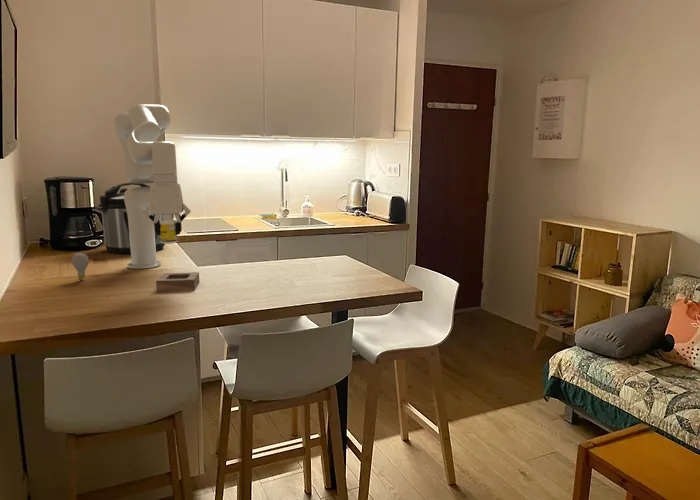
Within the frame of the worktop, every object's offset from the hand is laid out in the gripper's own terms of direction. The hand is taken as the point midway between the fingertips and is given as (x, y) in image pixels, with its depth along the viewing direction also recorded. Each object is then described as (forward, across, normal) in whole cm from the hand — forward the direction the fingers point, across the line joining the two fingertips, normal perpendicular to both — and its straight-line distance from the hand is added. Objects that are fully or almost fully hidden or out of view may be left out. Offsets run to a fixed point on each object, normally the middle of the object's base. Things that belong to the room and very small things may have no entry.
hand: (168, 233), depth 185 cm
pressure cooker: (+17, -32, +80) cm, 88 cm away
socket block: (+18, +2, -1) cm, 18 cm away
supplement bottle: (+3, 0, 0) cm, 3 cm away
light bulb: (+18, -34, +14) cm, 41 cm away
